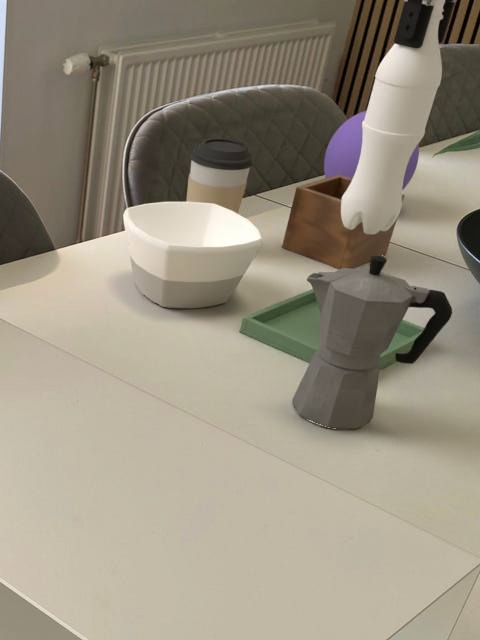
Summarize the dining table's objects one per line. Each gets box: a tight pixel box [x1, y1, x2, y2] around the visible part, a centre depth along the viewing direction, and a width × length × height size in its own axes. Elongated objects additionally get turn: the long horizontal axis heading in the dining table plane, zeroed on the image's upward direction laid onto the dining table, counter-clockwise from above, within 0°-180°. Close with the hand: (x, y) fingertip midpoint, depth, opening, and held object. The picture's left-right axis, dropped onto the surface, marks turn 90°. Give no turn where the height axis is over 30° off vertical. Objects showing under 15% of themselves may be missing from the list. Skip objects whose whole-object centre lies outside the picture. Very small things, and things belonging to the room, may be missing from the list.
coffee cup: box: [185, 137, 253, 214], centre depth 148 cm, size 9×9×15 cm
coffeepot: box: [291, 256, 453, 431], centre depth 109 cm, size 15×9×18 cm, turn 69°
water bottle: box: [341, 0, 445, 234], centre depth 116 cm, size 7×7×25 cm
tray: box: [239, 288, 425, 370], centre depth 130 cm, size 18×18×2 cm
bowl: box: [122, 201, 263, 309], centre depth 136 cm, size 18×18×9 cm
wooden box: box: [281, 174, 405, 270], centre depth 152 cm, size 12×12×9 cm
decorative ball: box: [323, 110, 420, 191], centre depth 168 cm, size 15×15×15 cm
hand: (418, 41), depth 110 cm, fingers closed on water bottle, 3 cm apart
